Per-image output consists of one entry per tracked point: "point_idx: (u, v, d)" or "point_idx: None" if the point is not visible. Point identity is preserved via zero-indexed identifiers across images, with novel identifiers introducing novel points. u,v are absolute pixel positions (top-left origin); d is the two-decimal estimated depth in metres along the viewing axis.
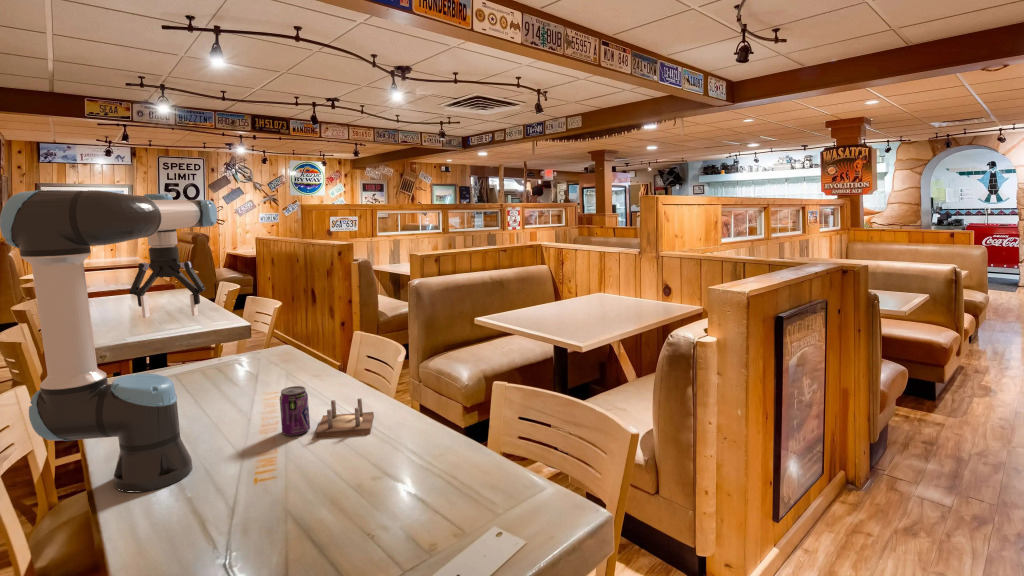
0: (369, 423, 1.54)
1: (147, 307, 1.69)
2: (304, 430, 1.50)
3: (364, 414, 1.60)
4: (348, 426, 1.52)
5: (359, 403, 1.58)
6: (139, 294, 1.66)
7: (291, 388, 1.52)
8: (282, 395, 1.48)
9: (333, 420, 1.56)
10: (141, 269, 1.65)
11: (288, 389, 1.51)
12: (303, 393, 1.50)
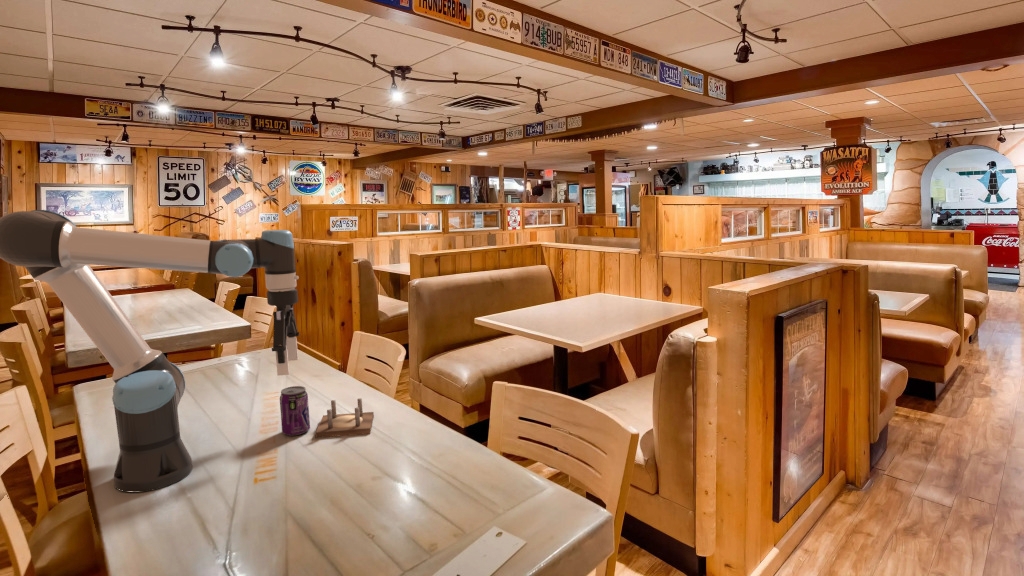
0: (369, 423, 1.54)
1: (293, 350, 1.56)
2: (304, 430, 1.50)
3: (364, 414, 1.60)
4: (348, 426, 1.52)
5: (359, 403, 1.58)
6: (286, 334, 1.56)
7: (291, 388, 1.52)
8: (282, 395, 1.48)
9: (333, 420, 1.56)
10: None
11: (288, 389, 1.51)
12: (303, 393, 1.50)
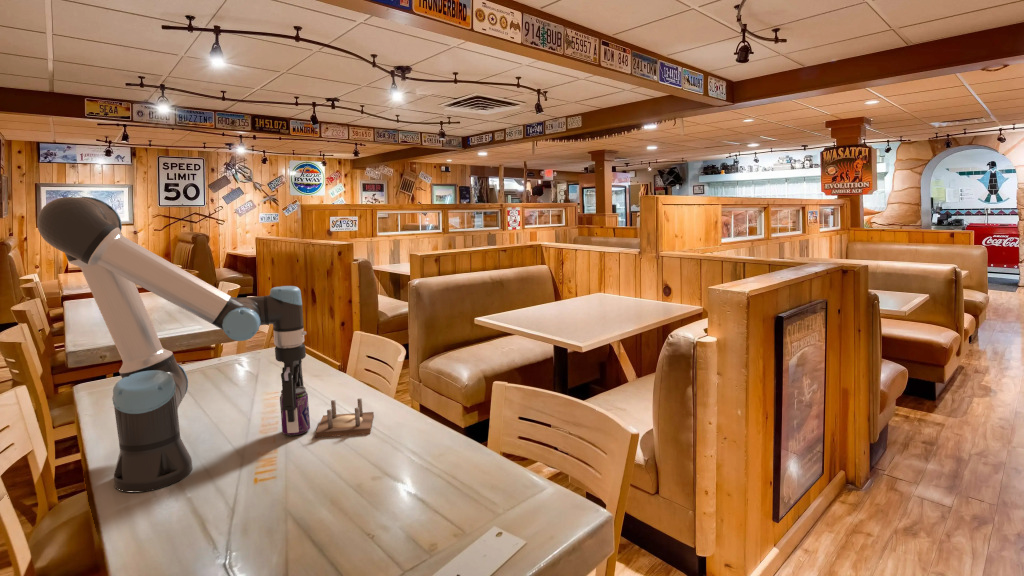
0: (369, 423, 1.54)
1: None
2: (304, 430, 1.50)
3: (364, 414, 1.60)
4: (348, 426, 1.52)
5: (359, 403, 1.58)
6: None
7: None
8: (282, 395, 1.48)
9: (333, 420, 1.56)
10: None
11: None
12: (303, 393, 1.50)
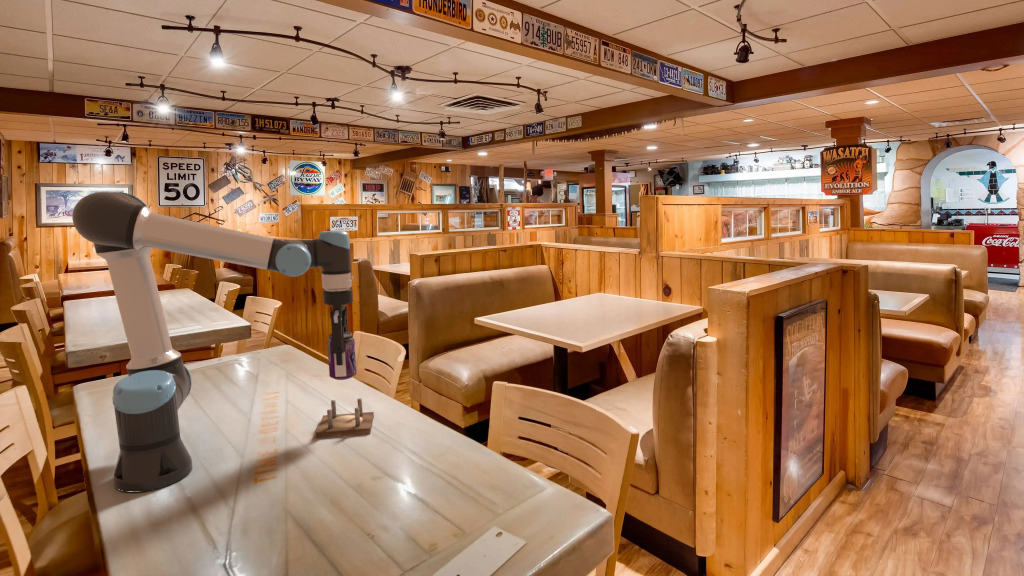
0: (369, 423, 1.54)
1: None
2: (351, 374, 1.51)
3: (364, 414, 1.60)
4: (348, 426, 1.52)
5: (359, 403, 1.58)
6: None
7: None
8: (330, 339, 1.49)
9: (333, 420, 1.56)
10: None
11: None
12: (350, 337, 1.51)
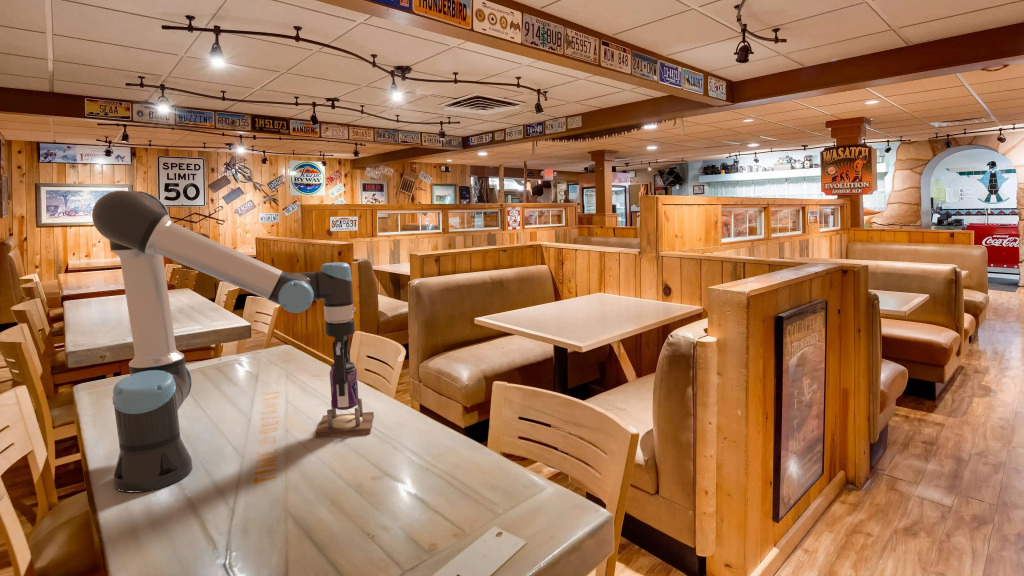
0: (369, 423, 1.54)
1: None
2: (354, 404, 1.52)
3: (364, 414, 1.60)
4: (348, 426, 1.52)
5: (359, 403, 1.58)
6: None
7: None
8: (332, 370, 1.50)
9: (333, 420, 1.56)
10: None
11: None
12: (353, 368, 1.52)
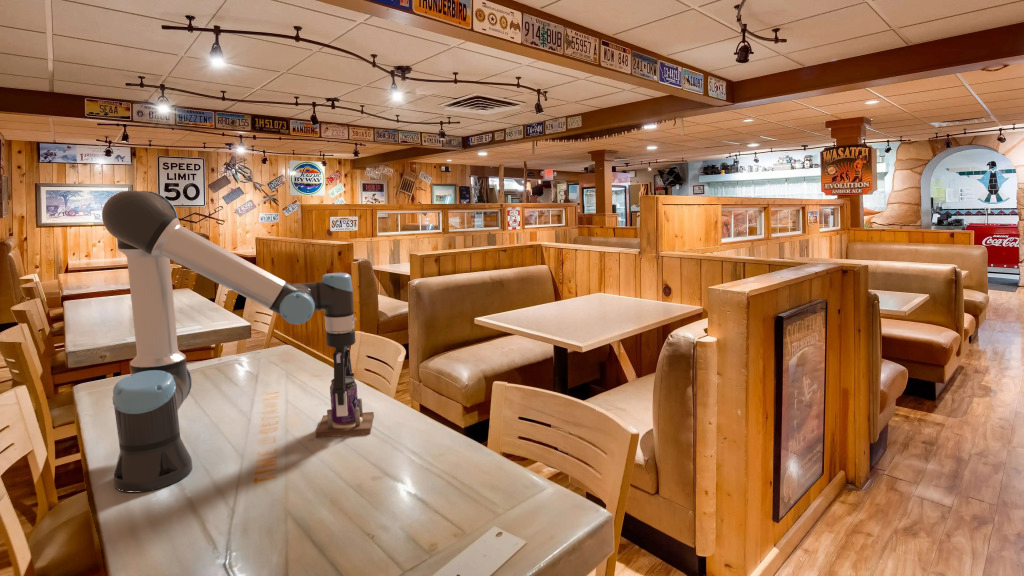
0: (369, 423, 1.54)
1: None
2: (354, 419, 1.53)
3: (364, 414, 1.60)
4: (348, 426, 1.52)
5: (359, 403, 1.58)
6: None
7: None
8: (333, 385, 1.51)
9: None
10: None
11: None
12: (353, 383, 1.53)
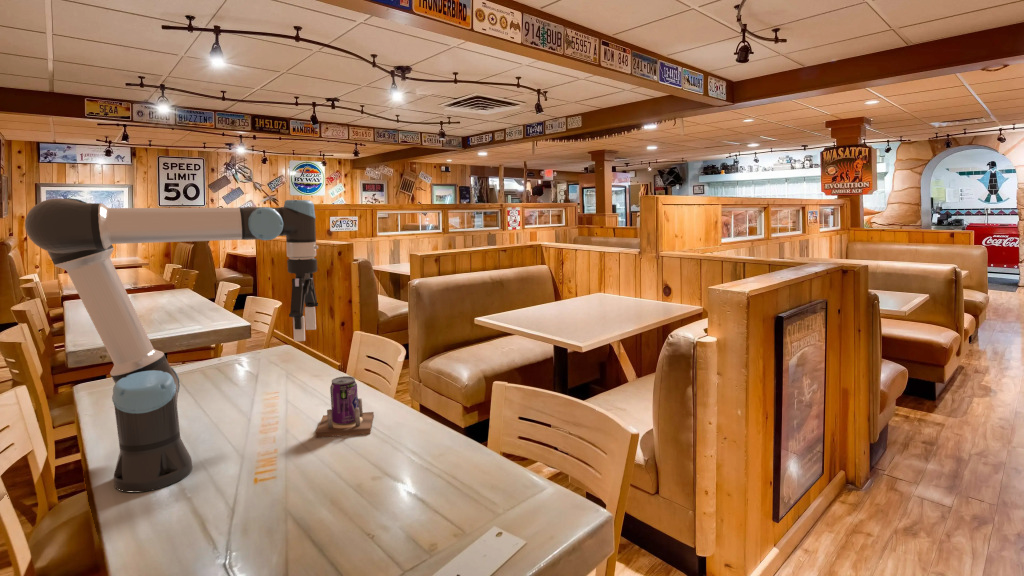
0: (369, 423, 1.54)
1: (312, 320, 1.60)
2: (354, 419, 1.53)
3: (364, 414, 1.60)
4: (348, 426, 1.52)
5: (359, 403, 1.58)
6: None
7: (341, 378, 1.55)
8: (333, 385, 1.51)
9: None
10: None
11: (338, 379, 1.54)
12: (353, 383, 1.53)
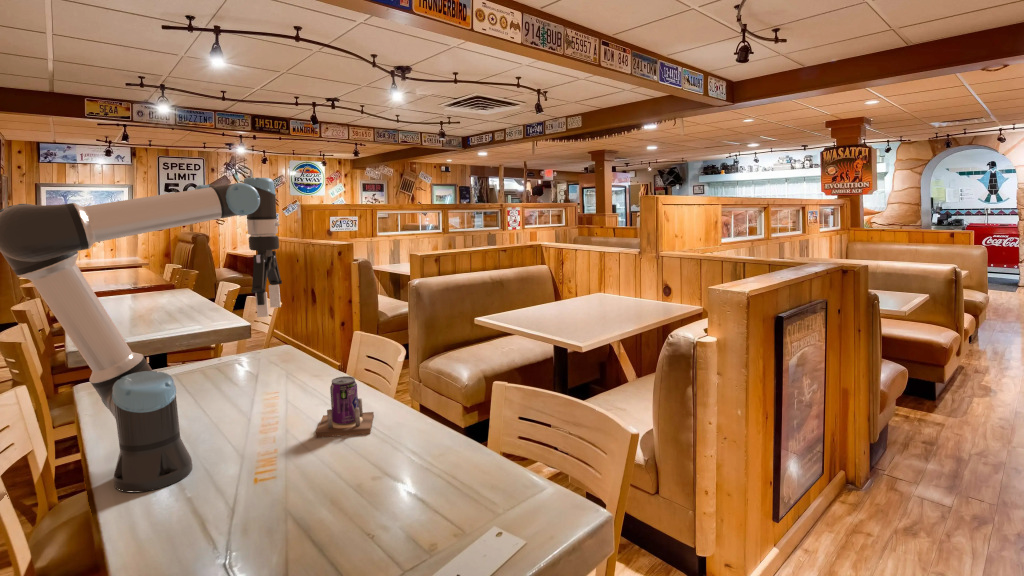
0: (369, 423, 1.54)
1: (276, 297, 1.62)
2: (354, 419, 1.53)
3: (364, 414, 1.60)
4: (348, 426, 1.52)
5: (359, 403, 1.58)
6: (269, 282, 1.62)
7: (341, 378, 1.55)
8: (333, 385, 1.51)
9: None
10: None
11: (338, 379, 1.54)
12: (353, 383, 1.53)
